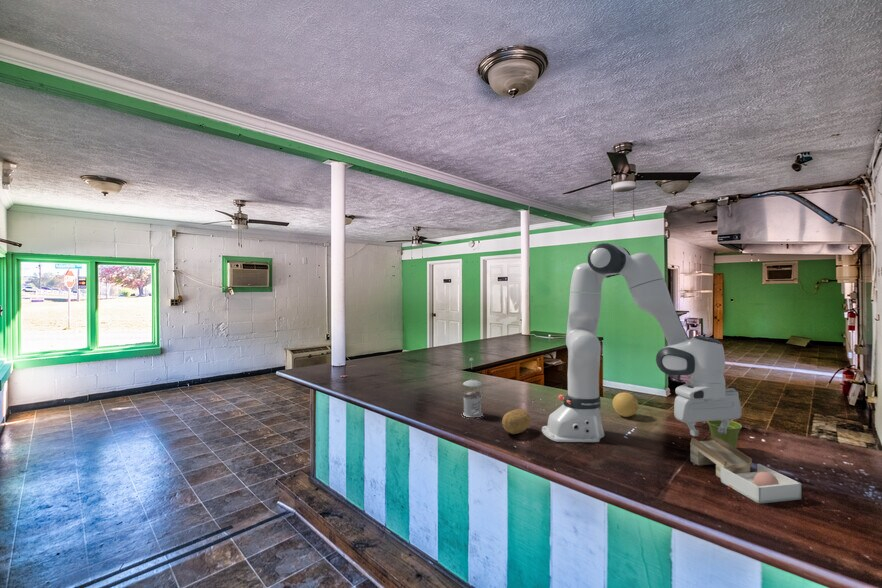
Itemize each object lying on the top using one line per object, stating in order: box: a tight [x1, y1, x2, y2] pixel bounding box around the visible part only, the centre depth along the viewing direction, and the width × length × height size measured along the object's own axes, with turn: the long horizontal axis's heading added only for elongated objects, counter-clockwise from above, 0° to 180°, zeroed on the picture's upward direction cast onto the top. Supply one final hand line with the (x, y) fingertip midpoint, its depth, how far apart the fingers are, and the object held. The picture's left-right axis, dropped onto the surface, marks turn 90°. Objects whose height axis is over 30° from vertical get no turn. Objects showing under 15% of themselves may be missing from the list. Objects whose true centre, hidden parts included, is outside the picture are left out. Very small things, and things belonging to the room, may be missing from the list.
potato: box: [501, 408, 531, 435], centre depth 147 cm, size 10×14×8 cm
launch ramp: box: [689, 436, 753, 479], centre depth 115 cm, size 9×12×7 cm
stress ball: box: [612, 391, 640, 418], centre depth 163 cm, size 10×10×10 cm
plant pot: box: [706, 420, 743, 449], centre depth 128 cm, size 9×9×9 cm
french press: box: [462, 357, 484, 418], centre depth 169 cm, size 10×12×25 cm
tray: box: [720, 463, 802, 505], centre depth 103 cm, size 12×11×4 cm
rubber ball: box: [754, 472, 779, 486], centre depth 100 cm, size 5×5×5 cm
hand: (708, 434), depth 119 cm, fingers open, 8 cm apart
